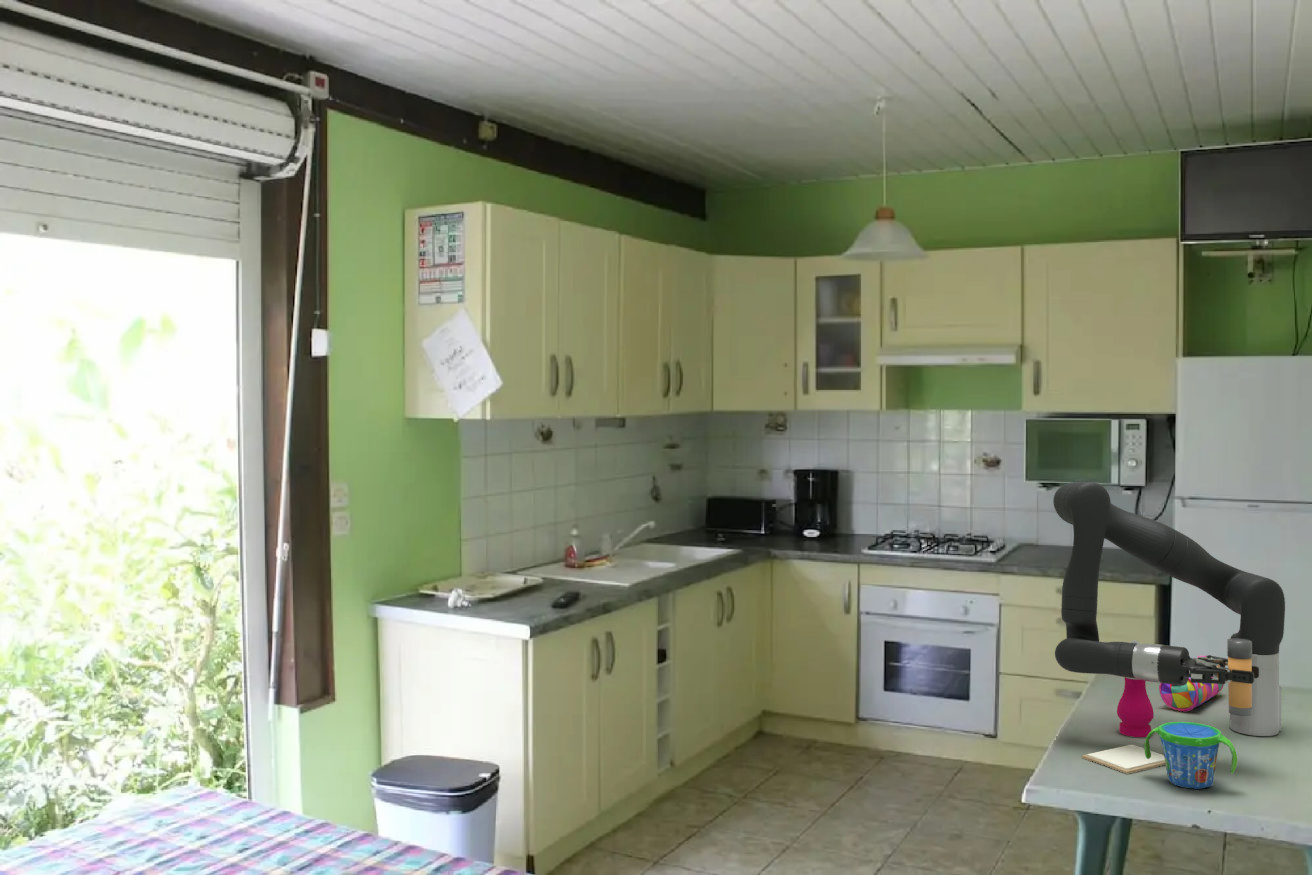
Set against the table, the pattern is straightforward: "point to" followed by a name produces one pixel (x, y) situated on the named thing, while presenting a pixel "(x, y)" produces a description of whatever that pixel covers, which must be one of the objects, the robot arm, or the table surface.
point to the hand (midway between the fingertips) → (1255, 675)
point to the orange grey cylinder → (1237, 691)
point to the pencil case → (1188, 694)
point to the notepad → (1127, 759)
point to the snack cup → (1190, 752)
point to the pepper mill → (1135, 708)
